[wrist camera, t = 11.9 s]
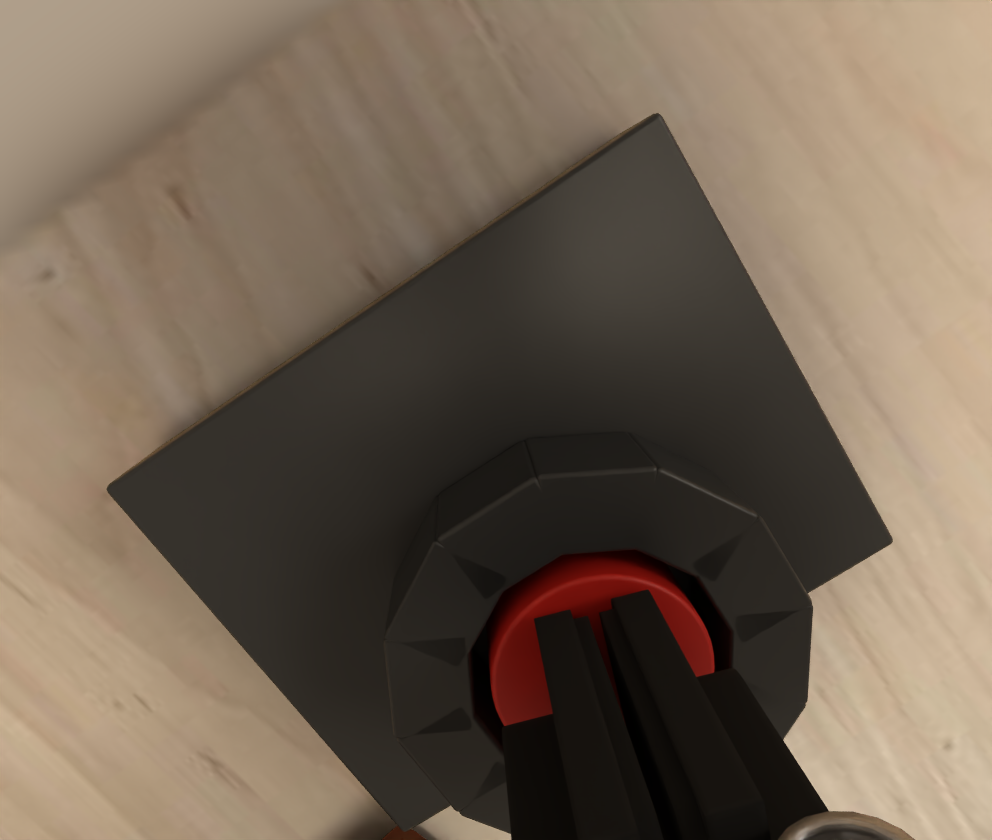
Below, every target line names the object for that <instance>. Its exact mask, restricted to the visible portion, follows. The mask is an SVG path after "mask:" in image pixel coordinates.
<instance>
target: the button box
mask: <svg viewBox="0 0 992 840" xmlns="http://www.w3.org/2000/svg"><path fill="white" fill-rule="evenodd" d="M107 491H108V493H109V494H110V495H111V497H112V498H113V499H114V500H115V501H116V502H117V503H118V505H119V506H120V507H121V508H122V509H123V510H124V512H125V513H126V514H127V515H128V516H129V517H130V518H131V520H132V521H133V522H134V523H135V524H136V525H137V526H138V528H139V529H140V530H141V531H142V532H143V533H144V535H145V536H146V537H147V538H148V539H149V540H150V541H151V543H152V544H153V545H154V546H155V547H156V548H157V549H158V551H159V552H160V553H161V554H162V555H163V556H164V558H165V559H166V560H167V561H168V562H169V563H170V564H171V566H172V567H173V568H174V569H175V570H176V571H177V572H178V574H179V575H180V576H181V577H182V578H183V579H184V581H185V582H186V583H187V584H188V585H189V586H190V587H191V589H192V590H193V591H194V592H195V593H196V594H197V595H198V597H199V598H200V599H201V600H202V601H203V602H204V604H205V605H206V606H207V607H208V608H209V609H210V610H211V612H212V613H213V614H214V615H215V616H216V617H217V618H218V620H219V621H220V622H221V623H222V624H223V625H224V627H225V628H226V629H227V630H228V631H229V632H230V633H231V635H232V636H233V637H234V638H235V639H236V640H237V641H238V643H239V644H240V645H241V646H242V647H243V648H244V650H245V651H246V652H247V653H248V654H249V655H250V656H251V658H252V659H253V660H254V661H255V662H256V663H257V664H258V666H259V667H260V668H261V669H262V670H263V671H264V673H265V674H266V675H267V676H268V677H269V678H270V679H271V681H272V682H273V683H274V684H275V685H276V686H277V687H278V689H279V690H280V691H281V692H282V693H283V694H284V696H285V697H286V698H287V699H288V700H289V701H290V702H291V704H292V705H293V706H294V707H295V708H296V709H297V711H298V712H299V713H300V714H301V715H302V716H303V717H304V719H305V720H306V721H307V722H308V723H309V724H310V725H311V727H312V728H313V729H314V730H315V731H316V732H317V734H318V735H319V736H320V737H321V738H322V739H323V740H324V742H325V743H326V744H327V745H328V746H329V747H330V748H331V750H332V751H333V752H334V753H335V754H336V755H337V757H338V758H339V759H340V760H341V761H342V762H343V763H344V765H345V766H346V767H347V768H348V769H349V770H350V771H351V773H352V774H353V775H354V776H355V777H356V778H357V780H358V781H359V782H360V783H361V784H362V785H363V786H364V788H365V789H366V790H367V791H368V792H369V793H370V794H371V796H372V797H373V798H374V799H375V800H376V801H377V803H378V804H379V805H380V806H381V807H382V808H383V809H384V811H385V812H386V813H387V814H388V815H389V816H390V817H391V819H392V820H393V821H394V822H395V823H396V824H397V826H398V827H399V828H400V829H401V830H402V831H404V832H406V831H408V830H410V829H412V828H413V827H415V826H417V825H418V824H420V823H422V822H424V821H425V820H427V819H429V818H430V817H432V816H434V815H435V814H437V813H439V812H440V811H442V810H444V809H445V808H447V807H449V806H450V805H451V806H452V807H453V808H454V810H456V811H459V812H460V814H461V815H462V816H464V817H467V818H470V819H472V820H475V821H478V822H480V823H483V824H486V825H489V826H491V827H494V828H497V829H499V830H502V831H505V832H507V833H510V834H511V827H510V816H509V806H508V795H507V784H506V773H505V762H504V751H503V740H502V727H503V726H504V725H503V723H502V722H501V719H500V717H499V715H498V713H497V711H496V708H495V705H494V701H493V698H492V691H491V682H490V670H489V657H488V644H487V632H486V622H487V620H488V618H489V617H490V615H491V613H492V611H493V609H494V607H495V606H496V604H497V602H498V600H499V598H500V597H501V595H502V593H503V592H504V591H505V590H507V589H508V588H510V587H512V586H513V585H515V584H517V583H518V582H520V581H521V580H523V579H525V578H526V577H528V576H529V575H531V574H533V573H534V572H536V571H537V570H539V569H541V568H542V567H544V566H545V565H547V564H549V563H550V562H552V561H554V560H555V559H557V558H558V557H560V556H562V555H569V554H582V553H595V552H608V551H622V550H637V551H639V552H642V553H644V554H646V555H648V556H650V557H653V558H655V559H657V560H659V561H661V562H663V563H666V565H667V566H668V567H669V569H670V571H671V572H672V574H673V575H674V577H675V578H676V580H677V582H678V583H679V585H680V586H681V588H682V589H683V591H684V593H685V594H686V596H687V597H688V599H689V600H690V602H691V604H692V605H693V607H694V608H695V610H696V611H697V613H698V615H699V616H700V618H701V620H702V621H703V623H704V625H705V627H706V629H707V631H708V634H709V637H710V639H711V642H712V647H713V652H714V666H715V667H714V672H718V671H721V670H725V669H729V668H734V669H736V670H737V671H738V672H739V674H740V675H741V676H742V678H743V679H744V681H745V682H746V684H747V685H748V687H749V689H750V690H751V692H752V693H753V695H754V696H755V698H756V699H757V701H758V702H759V704H760V706H761V707H762V709H763V710H764V712H765V713H766V715H767V716H768V718H769V719H770V721H771V722H772V724H773V726H774V727H775V729H776V730H777V732H778V733H779V735H780V736H781V738H782V739H784V738H785V736H786V735H787V733H788V732H789V730H790V729H791V727H792V726H793V724H794V723H795V721H796V720H797V718H798V717H799V715H800V714H801V712H802V711H803V709H804V708H805V706H806V704H805V703H806V702H807V698H808V682H809V665H810V649H811V632H812V616H813V606H812V601H811V599H810V597H809V595H808V594H807V593H809V592H811V591H813V590H814V589H816V588H818V587H819V586H821V585H823V584H824V583H826V582H828V581H829V580H831V579H833V578H834V577H836V576H838V575H839V574H841V573H843V572H845V571H846V570H848V569H850V568H851V567H853V566H855V565H856V564H858V563H860V562H861V561H863V560H865V559H866V558H868V557H870V556H871V555H873V554H875V553H877V552H878V551H880V550H882V549H883V548H885V547H887V546H888V545H890V544H891V543H892V542H893V539H892V536H891V535H890V533H889V531H888V529H887V527H886V526H885V524H884V522H883V520H882V518H881V516H880V515H879V513H878V511H877V509H876V507H875V505H874V504H873V502H872V500H871V498H870V496H869V494H868V493H867V491H866V489H865V487H864V485H863V483H862V482H861V480H860V478H859V476H858V474H857V472H856V471H855V469H854V467H853V465H852V463H851V461H850V460H849V458H848V456H847V454H846V452H845V450H844V449H843V447H842V445H841V443H840V441H839V439H838V438H837V436H836V434H835V432H834V430H833V428H832V427H831V425H830V423H829V421H828V419H827V417H826V416H825V414H824V412H823V410H822V408H821V406H820V405H819V403H818V401H817V399H816V397H815V395H814V394H813V392H812V390H811V388H810V386H809V384H808V383H807V381H806V379H805V377H804V375H803V373H802V372H801V370H800V368H799V366H798V364H797V363H796V361H795V359H794V357H793V355H792V353H791V352H790V350H789V348H788V346H787V344H786V342H785V341H784V339H783V337H782V335H781V333H780V331H779V330H778V328H777V326H776V324H775V322H774V320H773V319H772V317H771V315H770V313H769V311H768V309H767V308H766V306H765V304H764V302H763V300H762V298H761V297H760V295H759V293H758V291H757V289H756V287H755V286H754V284H753V282H752V280H751V278H750V276H749V275H748V273H747V271H746V269H745V267H744V265H743V264H742V262H741V260H740V258H739V256H738V254H737V253H736V251H735V249H734V247H733V245H732V243H731V242H730V240H729V238H728V236H727V234H726V232H725V231H724V229H723V227H722V225H721V223H720V221H719V220H718V218H717V216H716V214H715V212H714V211H713V209H712V207H711V205H710V203H709V201H708V200H707V198H706V196H705V194H704V192H703V190H702V189H701V187H700V185H699V183H698V181H697V179H696V178H695V176H694V174H693V172H692V170H691V168H690V167H689V165H688V163H687V161H686V159H685V157H684V156H683V154H682V152H681V150H680V148H679V146H678V145H677V143H676V141H675V139H674V137H673V135H672V134H671V132H670V130H669V128H668V126H667V124H666V123H665V121H664V119H663V117H662V116H661V115H660V114H659V113H656V114H652V115H651V116H649V117H647V118H646V119H644V120H642V121H641V122H639V123H637V124H635V125H634V126H632V127H630V128H629V129H627V130H625V131H624V132H622V133H620V134H619V135H617V136H616V137H615V138H613V139H612V140H610V141H609V142H607V143H606V144H604V145H603V146H601V147H600V148H598V149H597V150H595V151H594V152H592V153H591V154H590V155H588V156H587V157H585V158H584V159H582V160H581V161H579V162H578V163H576V164H575V165H573V166H572V167H570V168H569V169H568V170H566V171H565V172H563V173H562V174H560V175H559V176H557V177H556V178H554V179H553V180H551V181H550V182H548V183H547V184H545V185H544V186H543V187H541V188H540V189H538V190H537V191H535V192H534V193H532V194H531V195H529V196H528V197H526V198H525V199H523V200H522V201H521V202H519V203H518V204H516V205H515V206H513V207H512V208H510V209H509V210H507V211H506V212H504V213H503V214H501V215H500V216H498V217H497V218H496V219H494V220H493V221H491V222H490V223H488V224H487V225H485V226H484V227H482V228H481V229H479V230H478V231H476V232H475V233H474V234H472V235H471V236H469V237H468V238H466V239H465V240H463V241H462V242H460V243H459V244H457V245H456V246H454V247H453V248H451V249H450V250H449V251H447V252H446V253H444V254H443V255H441V256H440V257H438V258H437V259H435V260H434V261H432V262H431V263H429V264H428V265H426V266H425V267H424V268H422V269H421V270H419V271H418V272H416V273H415V274H413V275H412V276H410V277H409V278H407V279H406V280H404V281H403V282H402V283H400V284H399V285H397V286H396V287H394V288H393V289H391V290H390V291H388V292H387V293H385V294H384V295H382V296H381V297H379V298H378V299H377V300H375V301H374V302H372V303H371V304H369V305H368V306H366V307H365V308H363V309H362V310H360V311H359V312H357V313H356V314H355V315H353V316H352V317H350V318H349V319H347V320H346V321H344V322H343V323H341V324H340V325H338V326H337V327H335V328H334V329H332V330H331V331H330V332H328V333H327V334H325V335H324V336H322V337H321V338H319V339H318V340H316V341H315V342H313V343H312V344H310V345H309V346H308V347H306V348H305V349H303V350H302V351H300V352H299V353H297V354H296V355H294V356H293V357H291V358H290V359H288V360H287V361H285V362H284V363H283V364H281V365H280V366H278V367H277V368H275V369H274V370H272V371H271V372H269V373H268V374H266V375H265V376H263V377H262V378H260V379H259V380H258V381H256V382H255V383H253V384H252V385H250V386H249V387H247V388H246V389H244V390H243V391H241V392H240V393H238V394H237V395H236V396H234V397H233V398H231V399H230V400H228V401H227V402H225V403H224V404H222V405H221V406H219V407H218V408H216V409H215V410H213V411H212V412H211V413H209V414H208V415H206V416H205V417H203V418H202V419H200V420H199V421H197V422H196V423H194V424H193V425H191V426H190V427H189V428H187V429H186V430H184V431H183V432H181V433H180V434H178V435H177V436H175V437H174V438H172V439H171V440H169V441H168V442H166V443H165V444H164V445H162V446H161V447H159V448H158V449H156V450H155V451H154V452H152V453H151V454H150V455H148V456H147V457H146V458H144V459H143V460H141V461H140V462H139V463H137V464H136V465H135V466H133V467H132V468H131V469H129V470H128V471H126V472H125V473H124V474H122V475H121V476H120V477H118V478H117V479H116V480H114V481H113V482H111V483H110V484H109V485H108V487H107Z"/></svg>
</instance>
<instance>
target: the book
mask: <svg viewBox="0 0 992 840" xmlns="http://www.w3.org/2000/svg"><path fill="white" fill-rule="evenodd" d="M382 840H426V839H425V838H424V837H422V836H421V835H420V834H418V833H417V832H416V831H414V830H412V829H410V830H408V831H406V832H404V831H402V830H401V829H400V828H399V827H398V826H396V827H395V828H394V829H393V830H392V831H391V832H390V833H388V834H387V835H386V836H385V837H384V838H383V839H382Z"/></svg>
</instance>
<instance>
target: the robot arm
mask: <svg viewBox="0 0 992 840" xmlns="http://www.w3.org/2000/svg"><path fill="white" fill-rule="evenodd" d="M611 605H612V609H611V610H607V611H603V612H599V615H600V620H601V624H602V629H603V633H604V637H605V641H606V645H607V649H608V653H609V657H610V662H611V666H612V670H613V674H614V678H615V682H616V686H617V691H618V695H619V699H620V703H621V707H622V711H623V715H624V719H625V722H624V719H623V716H622V713H621V710H620V707H619V704H618V702H617V699H616V696H615V693H614V690H613V687H612V684H611V681H610V678H609V676H608V673H607V670H606V667H605V664H604V661H603V658H602V655H601V653H600V650H599V647H598V644H597V641H596V638H595V635H594V632H593V629H592V627H591V624H590V621H589V618H588V616H583V617H579V618H576V619H573V616H572V613H571V610H570V609H569V610H565V611H561V612H557V613H553V614H549V615H545V616H542V617H538V618H534V623H535V628H536V633H537V638H538V643H539V648H540V653H541V658H542V662H543V667H544V672H545V677H546V682H547V687H548V692H549V697H550V702H551V707H552V712H553V714H549V715H545V716H541V717H537V718H534V719H530V720H526V721H522V722H518V723H514V724H510V725H506V726H503V727H502V740H503V751H504V762H505V773H506V784H507V795H508V806H509V816H510V827H511V838H512V840H915V839H913V838H912V837H911V836H910V835H908V834H907V833H906V832H905V831H903V830H902V829H900V828H898V827H896V826H894V825H892V824H890V823H888V822H885V821H883V820H881V819H879V818H877V817H872V816H868V815H864V814H860V813H856V812H836V811H828V809H827V807H826V806H825V804H824V803H823V801H822V800H821V798H820V797H819V795H818V794H817V792H816V790H815V789H814V787H813V786H812V784H811V783H810V781H809V780H808V778H807V777H806V775H805V773H804V772H803V770H802V769H801V767H800V766H799V764H798V763H797V761H796V760H795V758H794V756H793V755H792V753H791V752H790V750H789V749H788V747H787V746H786V744H785V743H784V741H783V739H782V738H781V736H780V735H779V733H778V732H777V730H776V729H775V727H774V726H773V724H772V722H771V721H770V719H769V718H768V716H767V715H766V713H765V712H764V710H763V709H762V707H761V706H760V704H759V702H758V701H757V699H756V698H755V696H754V695H753V693H752V692H751V690H750V689H749V687H748V685H747V684H746V682H745V681H744V679H743V678H742V676H741V675H740V674H739V672H738V671H737V670H736V669H734V668H729V669H725V670H721V671H718V672H714V673H710V674H706V675H702V676H698V677H696V675H695V674H694V672H693V670H692V668H691V666H690V664H689V663H688V661H687V659H686V657H685V655H684V653H683V652H682V650H681V648H680V646H679V644H678V642H677V641H676V639H675V637H674V635H673V633H672V631H671V630H670V628H669V626H668V624H667V622H666V620H665V618H664V617H663V615H662V613H661V611H660V609H659V607H658V606H657V604H656V602H655V600H654V598H653V596H652V595H651V593H650V591H649V590H648V589H647V590H643V591H639V592H635V593H631V594H627V595H623V596H619V597H615V598H612V599H611ZM625 724H626V725H625Z"/></svg>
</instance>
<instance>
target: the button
mask: <svg viewBox="0 0 992 840" xmlns="http://www.w3.org/2000/svg"><path fill="white" fill-rule="evenodd" d="M647 589H648V590H649V591H650V593H651V595H652V596H653V598H654V600H655V602H656V604H657V606H658V607H659V609H660V611H661V613H662V615H663V617H664V618H665V620H666V622H667V624H668V626H669V628H670V630H671V631H672V633H673V635H674V637H675V639H676V641H677V642H678V644H679V646H680V648H681V650H682V652H683V653H684V655H685V657H686V659H687V661H688V663H689V664H690V666H691V668H692V670H693V672H694V674H695V675H696V677H698V676H702V675H706V674H710V673H714V667H715V666H714V652H713V647H712V642H711V639H710V637H709V634H708V631H707V629H706V627H705V625H704V623H703V621H702V620H701V618H700V616H699V615H698V613H697V611H696V610H695V608H694V607H693V605H692V604H691V602H690V600H689V599H688V597H687V596H686V594H685V593H684V591H683V589H682V588H681V586H680V585H679V583H678V582H677V580H676V578H675V577H674V575H673V574H672V572H671V571H670V569H669V567H668V566H667V565H666V563H663V562H661V561H659V560H657V559H655V558H653V557H650V556H648V555H646V554H644V553H642V552H639V551H637V550H622V551H608V552H595V553H582V554H569V555H562V556H560V557H558V558H557V559H555V560H554V561H552V562H550V563H549V564H547V565H545V566H544V567H542V568H541V569H539V570H537V571H536V572H534V573H533V574H531V575H529V576H528V577H526V578H525V579H523V580H521V581H520V582H518V583H517V584H515V585H513V586H512V587H510V588H508V589H507V590H505V591H504V592H503V593H502V595H501V597H500V598H499V600H498V602H497V604H496V606H495V607H494V609H493V611H492V613H491V615H490V617H489V618H488V620H487V622H486V632H487V644H488V657H489V670H490V682H491V691H492V698H493V701H494V705H495V708H496V711H497V713H498V715H499V717H500V719H501V722H502V723H503V725H504V726H506V725H510V724H514V723H518V722H522V721H526V720H530V719H534V718H537V717H541V716H545V715H549V714H553V712H552V707H551V702H550V697H549V692H548V687H547V682H546V677H545V672H544V667H543V662H542V658H541V653H540V648H539V643H538V638H537V633H536V628H535V623H534V618H538V617H542V616H545V615H549V614H553V613H557V612H561V611H565V610H569V609H570V610H571V613H572V616H573V619H576V618H579V617H583V616H588V618H589V621H590V624H591V627H592V629H593V632H594V635H595V638H596V641H597V644H598V647H599V650H600V653H601V655H602V658H603V661H604V664H605V667H606V670H607V673H608V676H609V678H610V681H611V684H612V687H613V690H614V693H615V696H616V699H617V702H618V704H619V707H620V710H621V713H622V716H623V719H624V715H623V711H622V707H621V703H620V699H619V695H618V691H617V686H616V682H615V678H614V674H613V670H612V666H611V662H610V657H609V653H608V649H607V645H606V641H605V637H604V633H603V629H602V624H601V620H600V615H599V612H603V611H607V610H611V609H612V605H611V599H612V598H615V597H619V596H623V595H627V594H631V593H635V592H639V591H643V590H647ZM624 722H625V719H624ZM625 725H626V724H625Z"/></svg>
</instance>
